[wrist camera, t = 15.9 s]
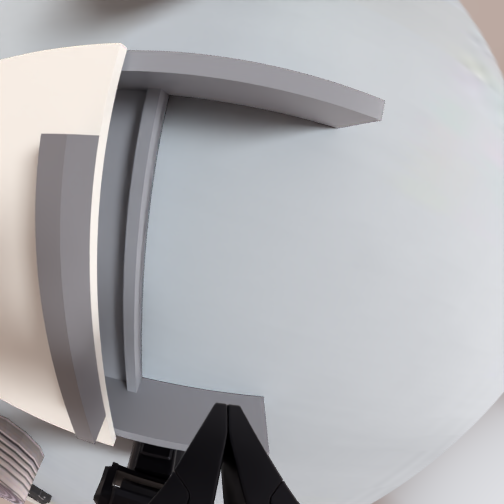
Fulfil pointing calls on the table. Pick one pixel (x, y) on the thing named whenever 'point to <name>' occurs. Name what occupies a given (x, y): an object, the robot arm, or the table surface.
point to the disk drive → (39, 495)
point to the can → (17, 461)
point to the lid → (54, 233)
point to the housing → (137, 214)
